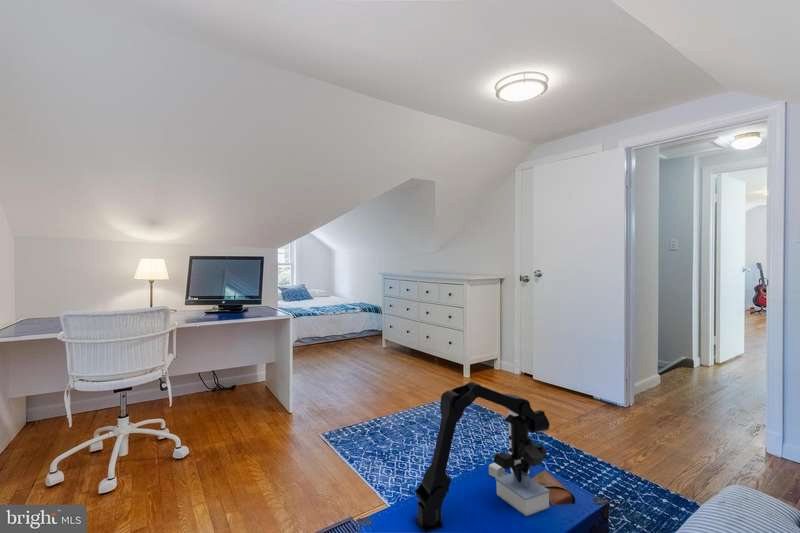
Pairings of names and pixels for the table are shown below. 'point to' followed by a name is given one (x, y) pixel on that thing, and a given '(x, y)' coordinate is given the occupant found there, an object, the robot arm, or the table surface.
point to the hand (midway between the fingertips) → (521, 481)
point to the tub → (519, 503)
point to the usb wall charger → (496, 470)
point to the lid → (522, 486)
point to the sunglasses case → (554, 489)
